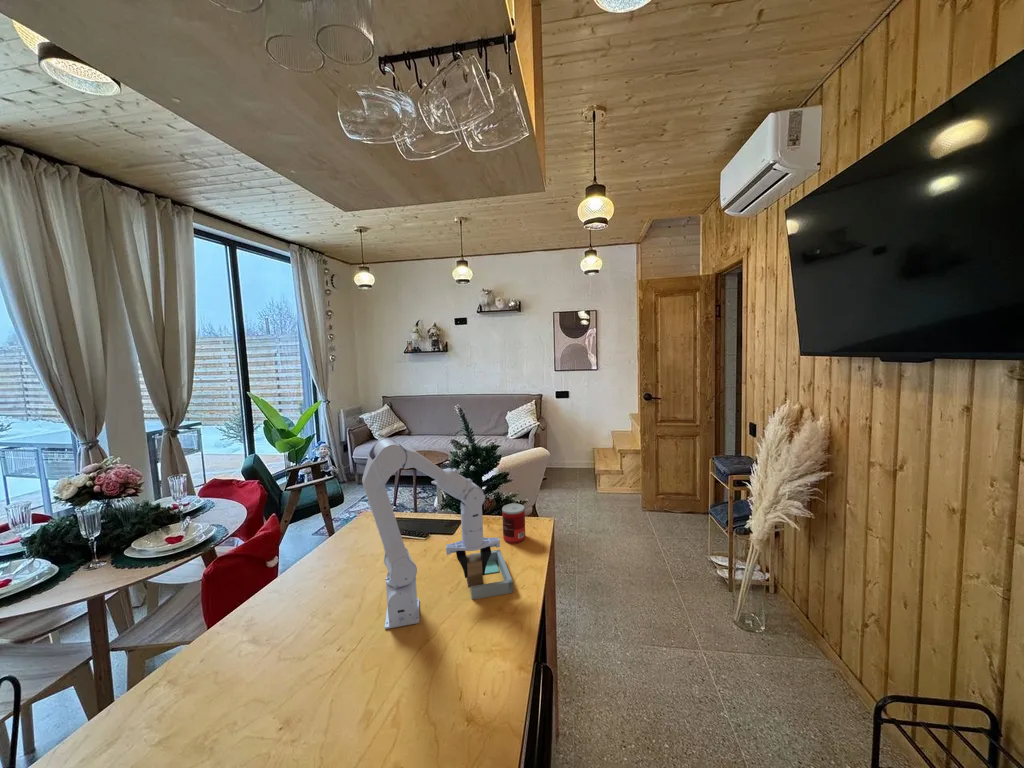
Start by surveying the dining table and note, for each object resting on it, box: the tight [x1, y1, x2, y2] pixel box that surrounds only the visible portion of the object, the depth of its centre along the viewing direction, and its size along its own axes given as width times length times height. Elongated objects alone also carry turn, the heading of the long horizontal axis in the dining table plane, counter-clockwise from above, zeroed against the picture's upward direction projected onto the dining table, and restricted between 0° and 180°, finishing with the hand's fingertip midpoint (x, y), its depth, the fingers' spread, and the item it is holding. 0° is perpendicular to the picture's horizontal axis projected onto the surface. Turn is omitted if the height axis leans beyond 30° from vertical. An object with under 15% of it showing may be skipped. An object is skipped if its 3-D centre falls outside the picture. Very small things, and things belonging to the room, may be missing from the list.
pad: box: [485, 561, 500, 575], centre depth 120 cm, size 6×6×1 cm
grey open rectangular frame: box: [469, 549, 514, 601], centre depth 115 cm, size 18×11×3 cm, turn 13°
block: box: [466, 553, 484, 589], centre depth 110 cm, size 4×4×7 cm
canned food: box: [501, 502, 526, 544], centre depth 138 cm, size 8×8×11 cm
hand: (474, 574), depth 110 cm, fingers closed on block, 4 cm apart
